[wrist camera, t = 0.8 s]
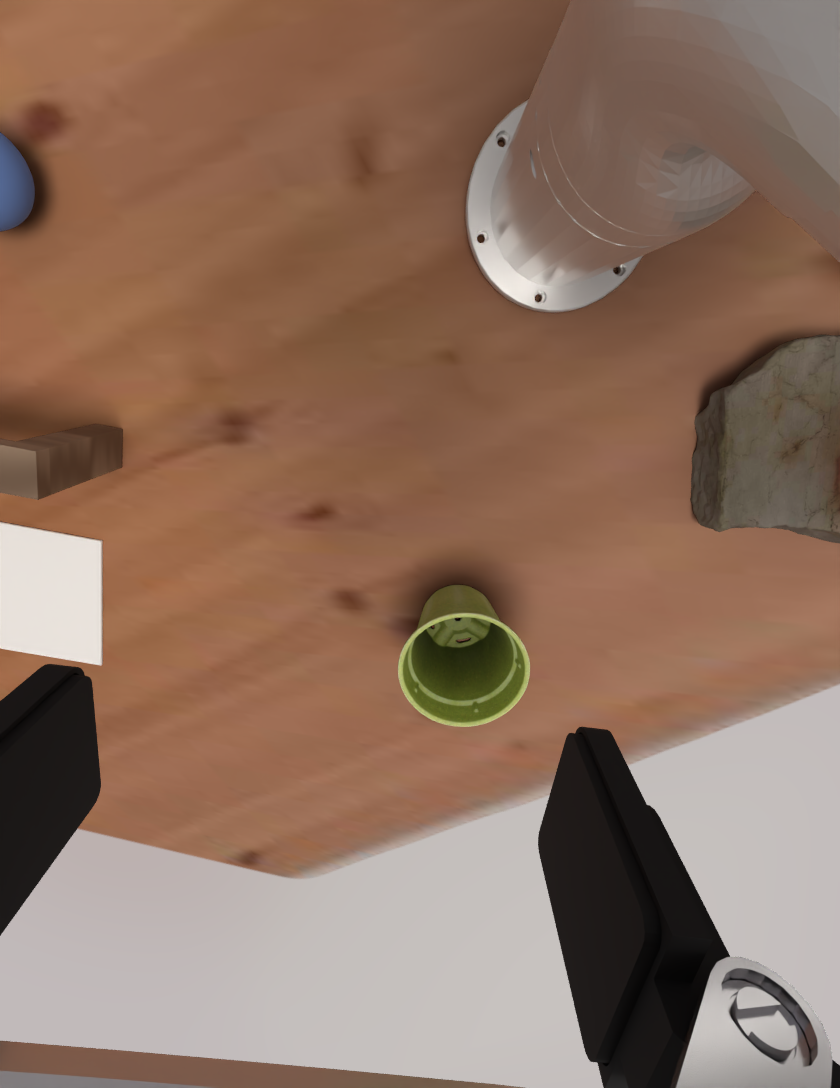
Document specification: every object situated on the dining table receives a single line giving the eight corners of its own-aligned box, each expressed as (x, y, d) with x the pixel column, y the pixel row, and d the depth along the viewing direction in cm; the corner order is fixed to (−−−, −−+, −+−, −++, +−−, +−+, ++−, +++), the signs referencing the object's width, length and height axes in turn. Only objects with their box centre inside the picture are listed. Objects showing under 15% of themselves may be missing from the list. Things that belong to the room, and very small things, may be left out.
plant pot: (418, 673, 48) (418, 739, 40) (388, 581, 45) (381, 631, 37) (520, 649, 47) (541, 711, 39) (497, 553, 44) (514, 599, 36)
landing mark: (-50, 512, 43) (-52, 513, 43) (102, 540, 44) (101, 541, 43) (-37, 640, 47) (-39, 642, 47) (102, 664, 48) (101, 665, 47)
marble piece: (862, 540, 44) (905, 558, 40) (682, 557, 45) (707, 577, 41) (903, 323, 38) (958, 320, 34) (695, 347, 39) (726, 346, 35)
